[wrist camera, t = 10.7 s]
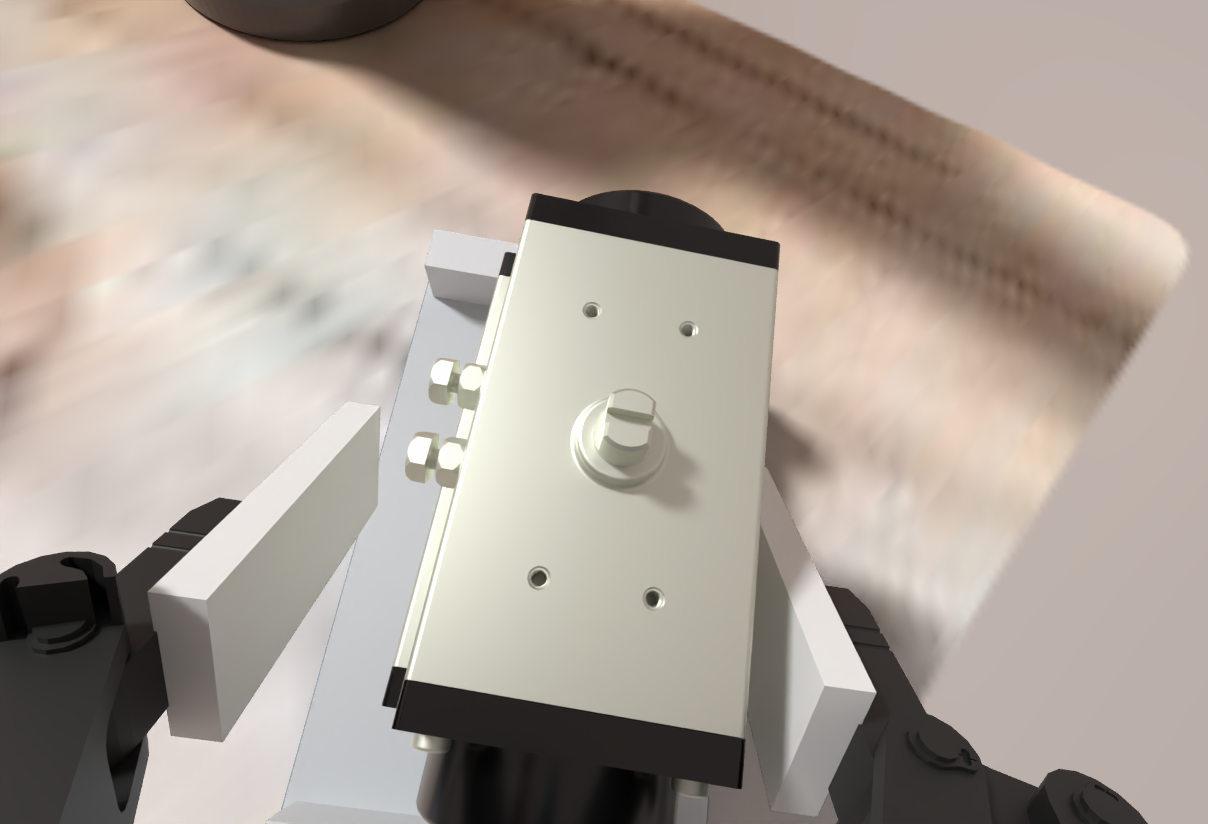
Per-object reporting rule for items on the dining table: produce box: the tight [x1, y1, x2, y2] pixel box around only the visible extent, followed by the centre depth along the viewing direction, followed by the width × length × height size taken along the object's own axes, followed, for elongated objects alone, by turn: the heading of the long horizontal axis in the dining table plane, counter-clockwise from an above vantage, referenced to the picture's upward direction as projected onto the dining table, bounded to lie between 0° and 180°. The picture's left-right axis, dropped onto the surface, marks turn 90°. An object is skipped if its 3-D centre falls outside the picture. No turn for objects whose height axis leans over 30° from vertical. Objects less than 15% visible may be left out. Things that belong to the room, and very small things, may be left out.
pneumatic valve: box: [382, 190, 780, 824], centre depth 14 cm, size 6×12×12 cm, turn 171°
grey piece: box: [265, 229, 709, 824], centre depth 20 cm, size 22×12×7 cm, turn 173°
